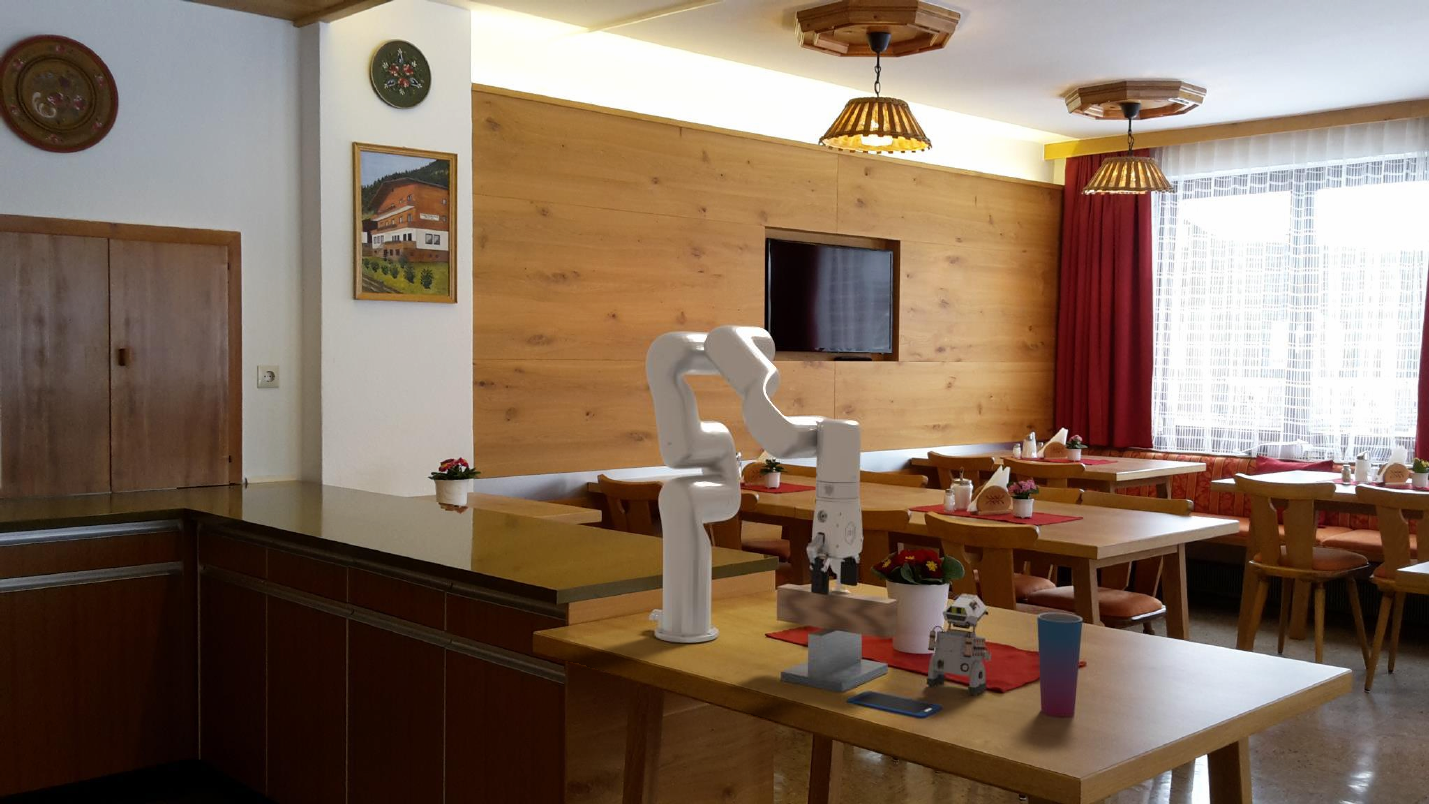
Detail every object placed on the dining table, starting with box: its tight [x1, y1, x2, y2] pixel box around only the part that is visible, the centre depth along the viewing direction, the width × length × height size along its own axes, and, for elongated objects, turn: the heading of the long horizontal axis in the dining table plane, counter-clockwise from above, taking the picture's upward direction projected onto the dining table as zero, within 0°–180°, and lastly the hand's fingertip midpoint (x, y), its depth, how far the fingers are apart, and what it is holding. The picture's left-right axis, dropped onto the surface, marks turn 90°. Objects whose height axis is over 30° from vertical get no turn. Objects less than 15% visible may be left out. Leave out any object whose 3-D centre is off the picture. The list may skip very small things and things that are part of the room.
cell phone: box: [846, 690, 943, 719], centre depth 186 cm, size 7×14×1 cm, turn 53°
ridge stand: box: [780, 628, 889, 694], centre depth 202 cm, size 12×16×8 cm
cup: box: [1036, 612, 1083, 718], centre depth 183 cm, size 7×7×15 cm
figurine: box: [926, 593, 993, 697], centre depth 197 cm, size 9×12×15 cm
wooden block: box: [776, 583, 899, 640], centre depth 202 cm, size 22×4×6 cm, turn 54°
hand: (834, 589), depth 202 cm, fingers open, 9 cm apart
